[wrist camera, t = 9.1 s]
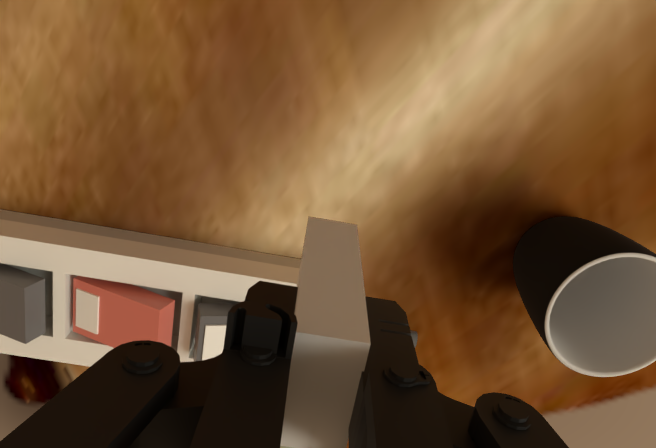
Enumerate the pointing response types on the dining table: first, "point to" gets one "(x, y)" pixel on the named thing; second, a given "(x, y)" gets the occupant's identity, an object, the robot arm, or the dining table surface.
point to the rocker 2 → (210, 330)
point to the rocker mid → (120, 312)
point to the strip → (126, 277)
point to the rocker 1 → (21, 304)
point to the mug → (589, 295)
